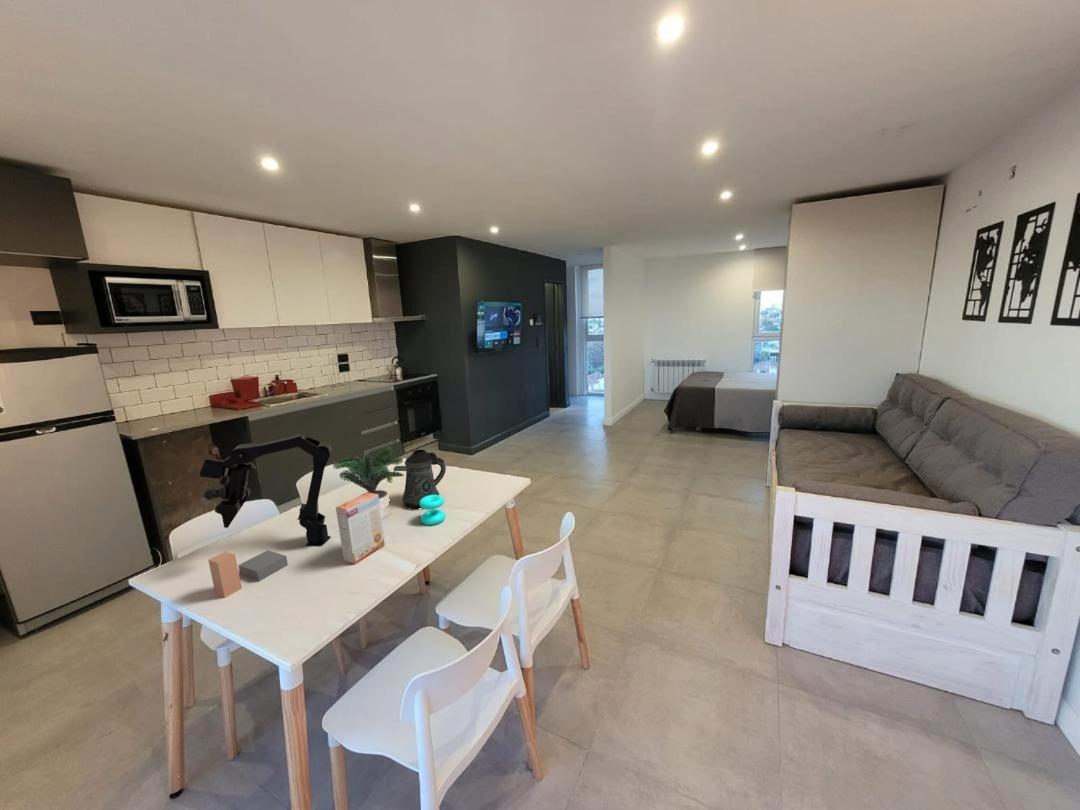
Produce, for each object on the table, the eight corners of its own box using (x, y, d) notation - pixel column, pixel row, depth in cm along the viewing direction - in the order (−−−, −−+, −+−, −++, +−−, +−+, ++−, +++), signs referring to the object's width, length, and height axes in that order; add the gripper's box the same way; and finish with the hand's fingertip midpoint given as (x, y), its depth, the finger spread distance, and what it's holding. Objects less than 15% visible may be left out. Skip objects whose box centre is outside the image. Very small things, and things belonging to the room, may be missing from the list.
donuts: (417, 496, 176) (441, 492, 180) (419, 517, 178) (443, 513, 182) (420, 505, 167) (445, 501, 171) (422, 528, 169) (447, 523, 173)
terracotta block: (232, 584, 136) (225, 551, 133) (241, 588, 134) (235, 554, 131) (215, 593, 131) (208, 559, 129) (224, 597, 129) (217, 563, 127)
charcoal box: (269, 560, 150) (267, 550, 149) (288, 566, 146) (286, 555, 145) (240, 575, 141) (238, 565, 140) (259, 582, 137) (257, 571, 136)
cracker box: (374, 542, 160) (368, 491, 155) (385, 545, 157) (379, 493, 153) (342, 561, 147) (334, 506, 143) (354, 565, 145) (346, 509, 140)
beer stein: (397, 502, 194) (391, 451, 189) (434, 490, 207) (430, 442, 202) (412, 513, 182) (407, 459, 177) (451, 500, 195) (447, 449, 190)
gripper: (217, 469, 152) (211, 509, 153) (199, 487, 135) (192, 532, 136) (253, 472, 157) (246, 511, 158) (240, 490, 140) (232, 534, 141)
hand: (229, 521), depth 148 cm, fingers open, 9 cm apart
